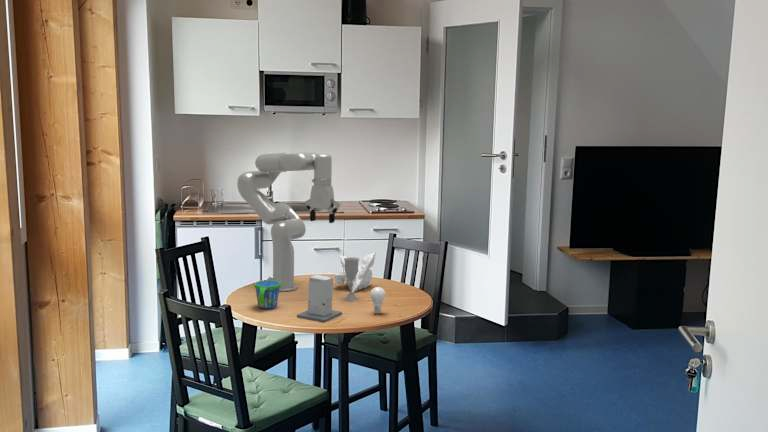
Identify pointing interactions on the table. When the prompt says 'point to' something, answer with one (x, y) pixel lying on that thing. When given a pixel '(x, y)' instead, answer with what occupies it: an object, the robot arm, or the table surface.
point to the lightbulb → (377, 298)
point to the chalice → (351, 274)
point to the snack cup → (267, 293)
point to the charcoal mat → (319, 316)
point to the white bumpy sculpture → (358, 273)
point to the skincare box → (320, 295)
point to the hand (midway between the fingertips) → (322, 221)
